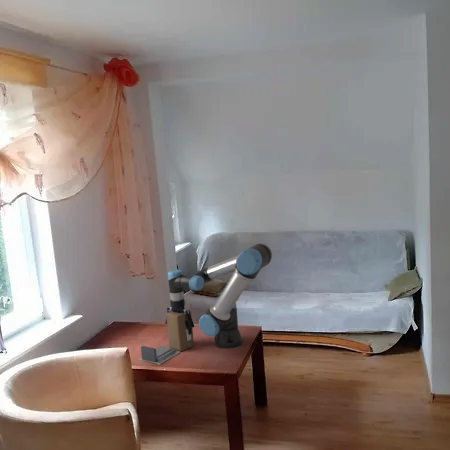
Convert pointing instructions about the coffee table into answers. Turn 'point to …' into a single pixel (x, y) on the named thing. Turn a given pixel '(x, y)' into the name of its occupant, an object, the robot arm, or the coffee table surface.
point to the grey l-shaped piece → (157, 354)
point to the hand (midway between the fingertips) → (180, 338)
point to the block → (178, 331)
